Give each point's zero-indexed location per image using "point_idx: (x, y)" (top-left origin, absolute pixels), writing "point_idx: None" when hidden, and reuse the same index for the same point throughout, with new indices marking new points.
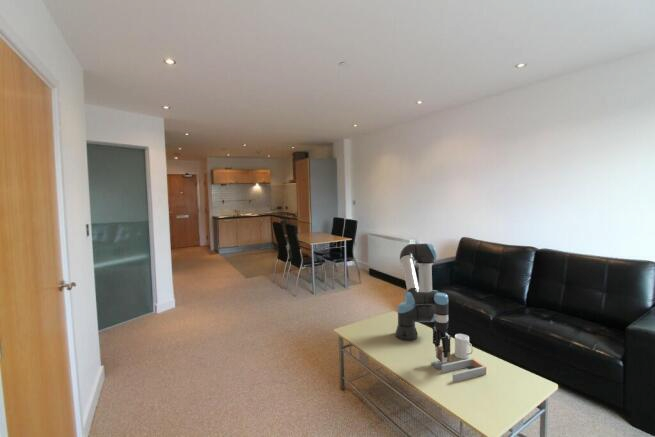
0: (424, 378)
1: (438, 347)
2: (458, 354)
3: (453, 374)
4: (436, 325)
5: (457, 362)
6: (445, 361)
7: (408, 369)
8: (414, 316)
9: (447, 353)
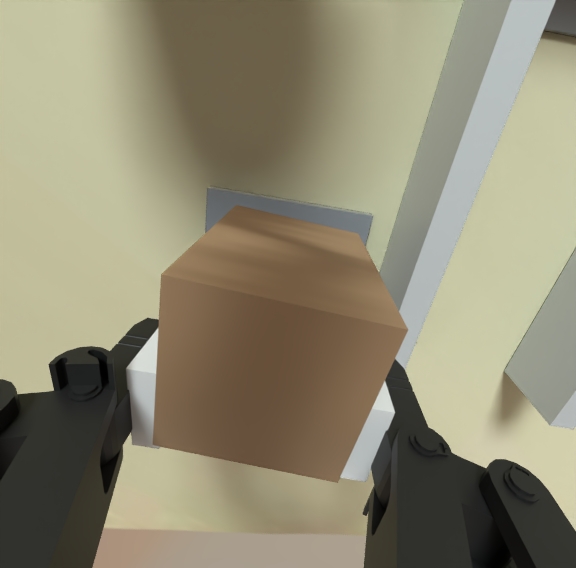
0: (343, 479)
1: (190, 449)
2: None
3: (562, 425)
4: None
5: (472, 194)
6: None
7: (206, 485)
8: None
9: (422, 415)
